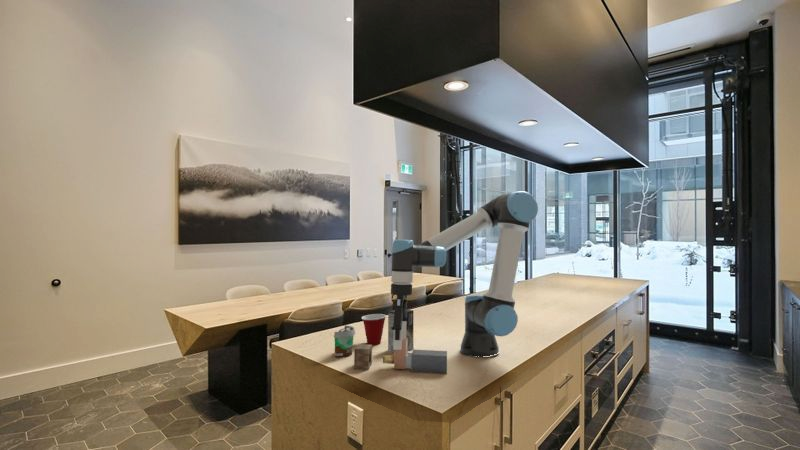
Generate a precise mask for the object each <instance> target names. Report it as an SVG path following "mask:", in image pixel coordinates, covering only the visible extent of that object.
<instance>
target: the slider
mask: <svg viewBox="0 0 800 450" xmlns="http://www.w3.org/2000/svg"><path fill="white" fill-rule="evenodd" d="M407 346H408V338H402V348H401V350H395V349H394V352H393V353H394V355H392V354H390V355H389V354H383V356H382V364H389V365H390V364H391V365H393V368H394V369H397V370H406V369H411V358H412V352H408V351H407Z"/></svg>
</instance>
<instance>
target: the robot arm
mask: <svg viewBox="0 0 800 450" xmlns="http://www.w3.org/2000/svg"><path fill="white" fill-rule="evenodd" d="M538 211H539V206H538V202H537V200H536V199H535V197H534V196H533V195H532V194H531V193H529V192H528V191H522V190H519V191H512V192H511V193H505V194H502V195H499V196H496V197H495V198H493V199H492V200H490V201H489V202H487V203H485V204H484V205H482V206H481V207H479V208H477V210H476V212H475V213H473V214H471V215H469V216H468V217H466V218H464V219H463V220H460V221H458V222H457V223H455V224H453V225H452V226H450V227H448V228H446V229H445V230H443V231H441V232H439V233H437V234H435V235H434V236H432V237H430V238H428V239H426V240H424V241H422V242H421V243H419V244H414V240H413V239H394V240H393V242H392V248H391V272H390V273H389V276H390V278H391V284H390V294H391V295H392V296H393V295H394V296H396V298H395V300H394V310H395V312H394V323H393V327H392V330H394V338H393V349H395V350H401V348H402V338H406V323H407V321H408V320H409V318H407V309H408V299H407V298H408V296H411V295H412V294H413V285H412V283H413V282H414V281H413V280H414V279H413V277H414V275H413V274H414V273H413V270H414V267H416V268H417V267H423V268H424V267H425V268H427V267H428V268H439V267H440V268H443V267H444V266H445V264H446V262H447V251H448V250H450V249H452V248H453V247H455V246H457V245H459V244H460V243H462V242H465V241H466V240H468V239H469V238H471V237H474V236H475V235H477V234H478V233H481V232H482V231H484V230H486V229H488V230H491V229H492V228H494V227H496V226H498V228H499V229H500V230H499V234H498V239H497V244H496V249H495V250H496V251H495V255H494V260H493V266H492V271H491V277H490V282H489V287H488V290H487V292H485V293H484V294H476V295H475V294H473V295H466V296H465V299H464V334H463V337H462V340H461V343H460V352H461V353H462V354H463V355H465V356H469V355H470V356H469V357H473V356H477V357H476V358H484V357H483V356H490V355H494V354H497V353H498V352H499V344H498V341H497V337H507V336H508V335H509V334H511V333H513V332H514V331H515V329H516V328H517V325H518V321H519V320H518V313H517V312H516V310H515V305H516V300H515V299H514V298H513V290H514V287H515V282H516V281H515V280H516V274H517V269H518V263H519V260H520V254H521V248H522V242H523V237H524V234H525V233H526V232H528V231H529V227H530V223H531V221H533V220H534V219H535V218H536V216H537V215H538V213H539V212H538ZM397 325H398V326H397ZM499 353H500V352H499ZM478 356H479V357H478Z"/></svg>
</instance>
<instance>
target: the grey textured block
mask: <svg viewBox="0 0 800 450" xmlns="http://www.w3.org/2000/svg"><path fill="white" fill-rule="evenodd" d="M353 349H354V351H353V352H354V353H353V354H354V356H353V357H354V358H353V361H354V363H353V369H354V370H361V369H365V370H366V371H369V369H370V368H371V366H372V365H373V363H372V362H373V361H372V360H373V345H369V344H365V343H364V344H362V343H358V344H357V345H356V346H355V347H354V348H353Z"/></svg>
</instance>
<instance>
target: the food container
mask: <svg viewBox="0 0 800 450" xmlns="http://www.w3.org/2000/svg"><path fill="white" fill-rule="evenodd" d="M355 335H356V330H355V327H354V326H351V325H344V327H343V328H341V329H339V330H338V331H334V333H333V338H334V358H335V357H336V358H335V359H337V358H338V359H339V358H341V359H342V358H347V357H351V356H352V355H353V349H354V348H353V347H354V336H355Z"/></svg>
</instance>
